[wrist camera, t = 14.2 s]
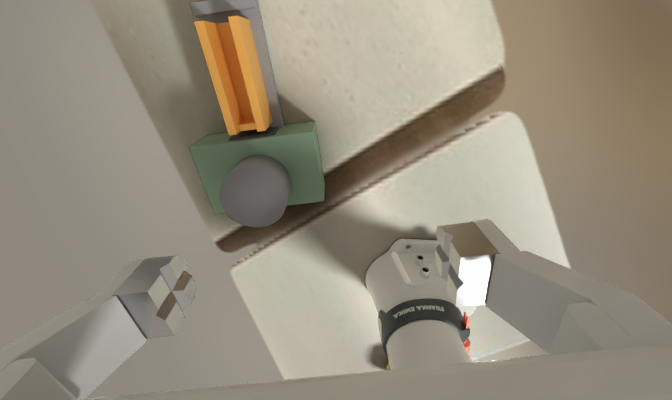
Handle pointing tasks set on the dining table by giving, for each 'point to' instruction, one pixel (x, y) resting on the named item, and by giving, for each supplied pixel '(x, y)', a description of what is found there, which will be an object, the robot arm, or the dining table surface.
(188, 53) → the dining table surface
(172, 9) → the dining table surface
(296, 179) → the green coffee machine
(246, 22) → the chute
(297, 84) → the dining table surface
